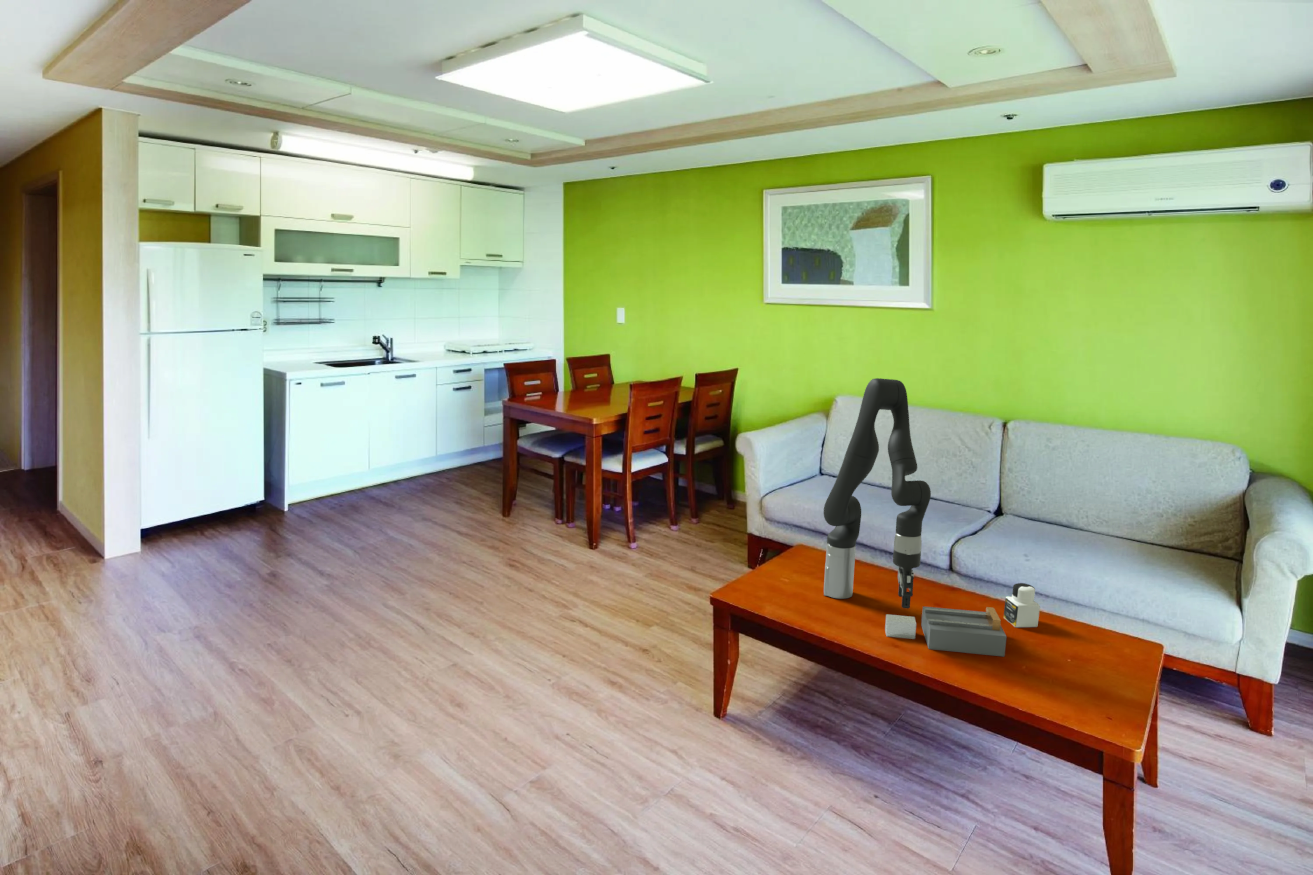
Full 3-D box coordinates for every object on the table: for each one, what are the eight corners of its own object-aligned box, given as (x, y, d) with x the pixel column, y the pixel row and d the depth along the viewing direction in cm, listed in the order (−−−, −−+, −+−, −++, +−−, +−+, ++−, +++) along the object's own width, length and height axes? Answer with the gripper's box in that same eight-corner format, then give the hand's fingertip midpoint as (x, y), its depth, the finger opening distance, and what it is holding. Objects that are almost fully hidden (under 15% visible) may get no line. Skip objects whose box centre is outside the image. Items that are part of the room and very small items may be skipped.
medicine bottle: (1002, 617, 239) (1006, 581, 236) (1024, 617, 239) (1029, 580, 237) (1015, 627, 232) (1019, 590, 229) (1038, 627, 232) (1042, 589, 230)
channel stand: (928, 648, 217) (931, 618, 215) (921, 624, 233) (923, 596, 231) (1004, 656, 213) (1007, 626, 212) (991, 631, 229) (994, 603, 227)
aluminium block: (886, 636, 225) (887, 620, 224) (884, 629, 229) (886, 614, 228) (914, 639, 223) (916, 623, 222) (913, 632, 228) (914, 616, 227)
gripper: (891, 540, 229) (888, 592, 232) (896, 555, 215) (893, 610, 218) (917, 541, 227) (914, 593, 230) (924, 557, 214) (920, 612, 217)
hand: (903, 602), depth 224 cm, fingers open, 8 cm apart
